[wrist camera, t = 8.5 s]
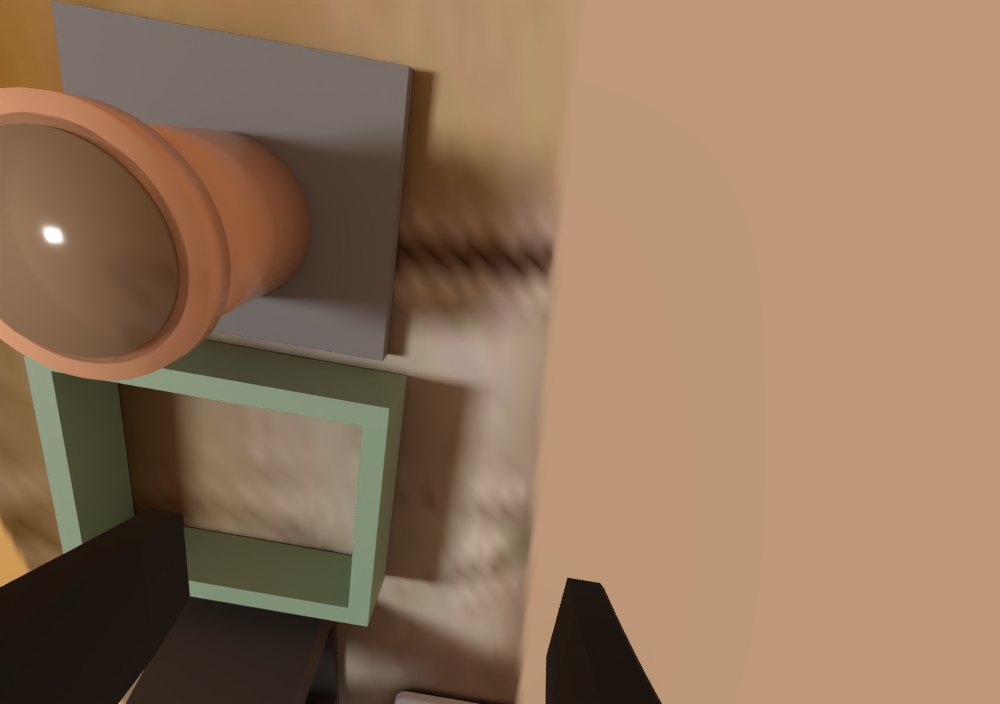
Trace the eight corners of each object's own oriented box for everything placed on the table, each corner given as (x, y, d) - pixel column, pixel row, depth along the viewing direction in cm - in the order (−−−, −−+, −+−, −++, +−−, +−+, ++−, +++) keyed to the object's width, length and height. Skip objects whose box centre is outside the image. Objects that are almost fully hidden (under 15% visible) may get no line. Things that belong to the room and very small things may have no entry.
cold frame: (384, 575, 21) (367, 626, 19) (118, 529, 21) (67, 575, 19) (407, 376, 18) (389, 408, 16) (87, 319, 18) (21, 343, 15)
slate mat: (387, 354, 18) (382, 360, 17) (107, 304, 18) (93, 309, 17) (413, 70, 14) (409, 66, 14) (69, 6, 14) (50, 0, 14)
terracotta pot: (320, 320, 17) (210, 404, 11) (148, 289, 17) (-51, 358, 11) (326, 134, 15) (196, 118, 9) (130, 98, 14) (-130, 58, 9)
